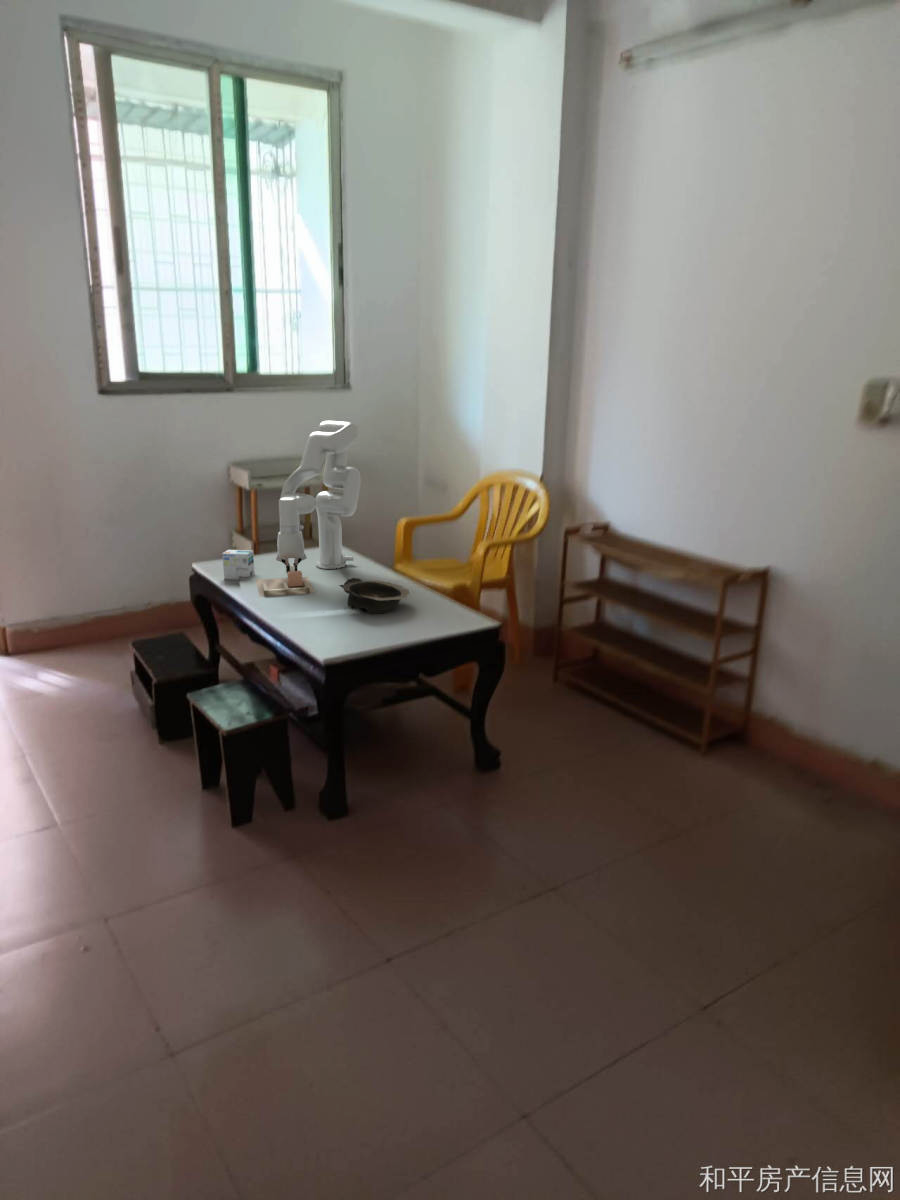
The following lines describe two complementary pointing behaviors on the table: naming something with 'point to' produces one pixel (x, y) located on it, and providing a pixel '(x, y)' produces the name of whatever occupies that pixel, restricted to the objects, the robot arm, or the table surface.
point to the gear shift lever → (294, 577)
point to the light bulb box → (238, 563)
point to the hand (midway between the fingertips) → (292, 574)
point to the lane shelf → (282, 587)
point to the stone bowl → (373, 595)
